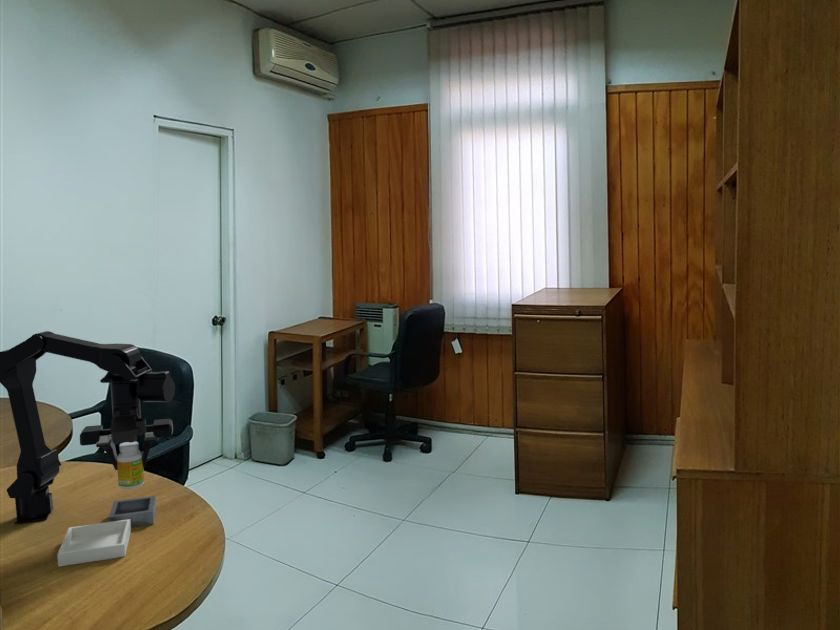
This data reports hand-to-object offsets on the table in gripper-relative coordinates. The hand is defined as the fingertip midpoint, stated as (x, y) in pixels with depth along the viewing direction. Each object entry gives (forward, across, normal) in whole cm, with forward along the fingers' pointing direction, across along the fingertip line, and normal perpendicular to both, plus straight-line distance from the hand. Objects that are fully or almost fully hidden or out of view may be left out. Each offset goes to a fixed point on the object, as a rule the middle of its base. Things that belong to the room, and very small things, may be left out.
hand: (130, 468), depth 144 cm
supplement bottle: (+4, 0, 0) cm, 4 cm away
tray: (+12, -6, -12) cm, 18 cm away
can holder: (+12, 0, 0) cm, 12 cm away
